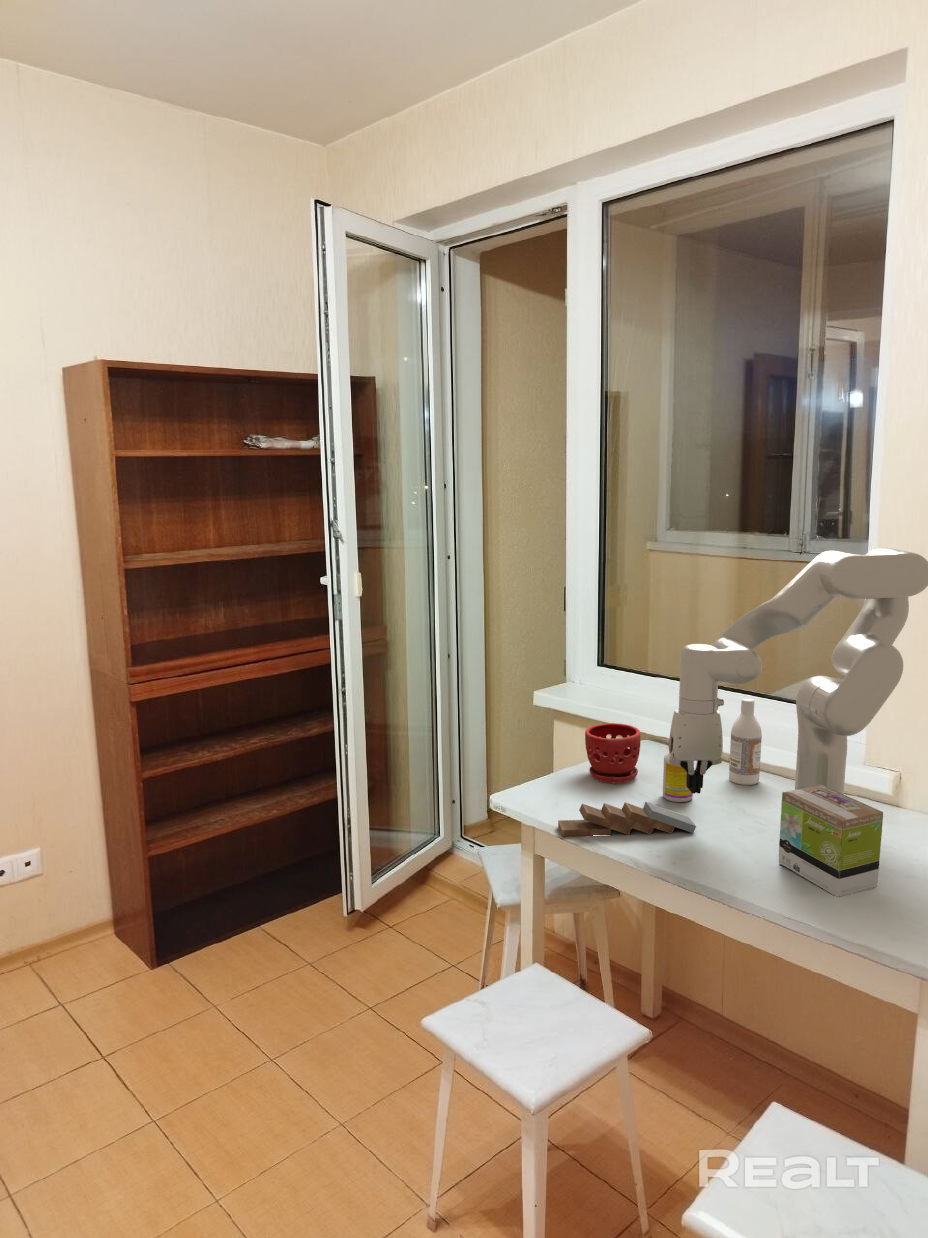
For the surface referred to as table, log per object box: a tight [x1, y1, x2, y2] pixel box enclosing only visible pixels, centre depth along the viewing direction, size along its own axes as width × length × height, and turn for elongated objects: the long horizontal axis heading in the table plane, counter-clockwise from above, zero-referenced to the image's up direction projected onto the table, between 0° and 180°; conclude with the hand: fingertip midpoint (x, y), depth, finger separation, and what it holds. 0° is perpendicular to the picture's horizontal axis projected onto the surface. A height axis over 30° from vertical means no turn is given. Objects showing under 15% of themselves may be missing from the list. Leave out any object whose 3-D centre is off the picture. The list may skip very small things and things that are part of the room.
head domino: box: [642, 801, 697, 834], centre depth 186 cm, size 2×5×10 cm
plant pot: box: [584, 722, 642, 785], centre depth 216 cm, size 13×13×12 cm
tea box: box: [778, 784, 884, 898], centre depth 163 cm, size 15×10×15 cm, turn 23°
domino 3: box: [600, 802, 655, 835], centre depth 185 cm, size 2×5×10 cm
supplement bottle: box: [662, 751, 695, 803], centre depth 202 cm, size 7×7×13 cm
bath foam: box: [728, 697, 763, 786], centre depth 213 cm, size 7×7×20 cm
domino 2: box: [578, 803, 633, 836], centre depth 185 cm, size 2×5×10 cm
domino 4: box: [621, 801, 676, 835], centre depth 185 cm, size 2×5×10 cm
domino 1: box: [557, 819, 612, 838], centre depth 185 cm, size 2×5×10 cm
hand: (694, 791), depth 185 cm, fingers closed
